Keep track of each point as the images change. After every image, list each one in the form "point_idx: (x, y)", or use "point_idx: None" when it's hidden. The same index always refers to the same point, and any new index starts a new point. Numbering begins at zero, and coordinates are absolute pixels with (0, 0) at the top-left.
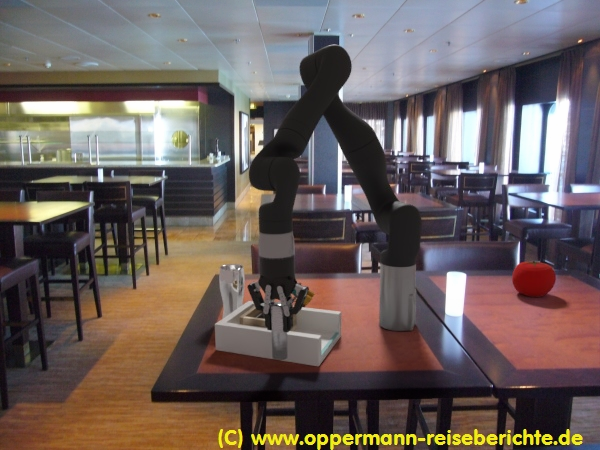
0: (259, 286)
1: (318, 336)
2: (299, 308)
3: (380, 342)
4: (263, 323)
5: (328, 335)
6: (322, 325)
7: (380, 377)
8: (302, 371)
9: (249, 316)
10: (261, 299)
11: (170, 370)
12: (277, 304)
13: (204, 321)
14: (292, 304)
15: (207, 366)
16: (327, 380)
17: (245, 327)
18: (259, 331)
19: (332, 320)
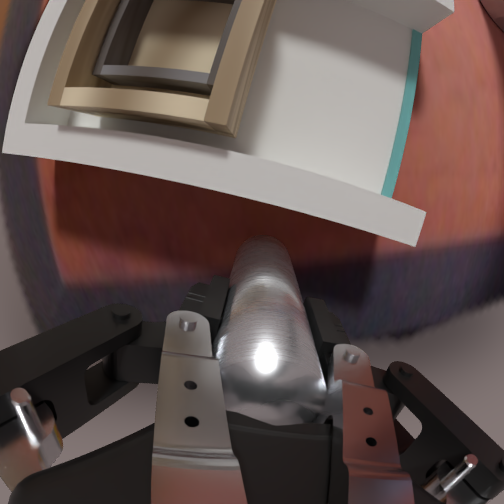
0: (44, 460)
1: (416, 223)
2: (403, 429)
3: (497, 83)
4: (153, 115)
5: (395, 42)
6: (377, 2)
7: (485, 267)
8: (329, 256)
9: (86, 50)
10: (99, 352)
11: (20, 275)
12: (257, 412)
13: (20, 11)
14: (373, 382)
15: (68, 250)
16: (389, 297)
17: (88, 154)
18: (151, 175)
19: (420, 8)
